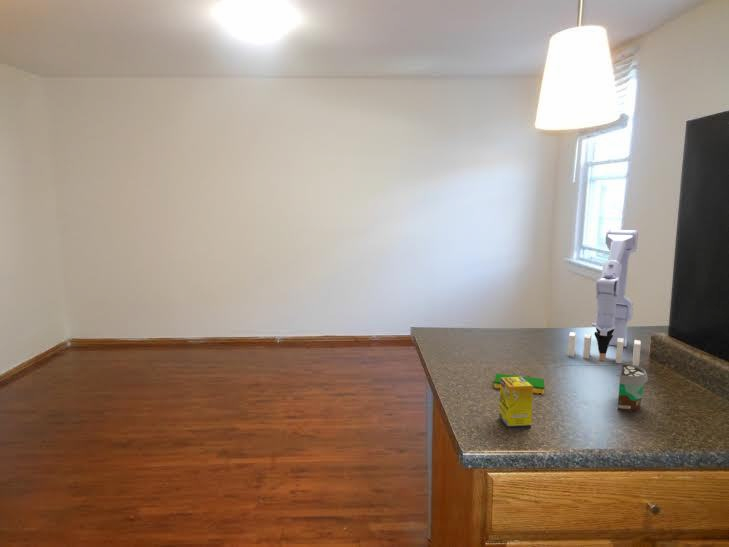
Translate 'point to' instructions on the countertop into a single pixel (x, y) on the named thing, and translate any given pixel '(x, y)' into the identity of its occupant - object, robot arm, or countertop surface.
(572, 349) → the domino
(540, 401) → the countertop surface
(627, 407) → the food container
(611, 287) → the robot arm
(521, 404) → the supplement box
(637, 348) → the domino
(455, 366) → the countertop surface
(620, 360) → the domino
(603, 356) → the domino
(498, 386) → the dish sponge
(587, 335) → the domino
